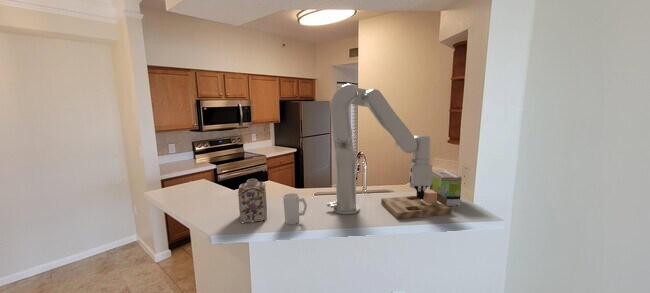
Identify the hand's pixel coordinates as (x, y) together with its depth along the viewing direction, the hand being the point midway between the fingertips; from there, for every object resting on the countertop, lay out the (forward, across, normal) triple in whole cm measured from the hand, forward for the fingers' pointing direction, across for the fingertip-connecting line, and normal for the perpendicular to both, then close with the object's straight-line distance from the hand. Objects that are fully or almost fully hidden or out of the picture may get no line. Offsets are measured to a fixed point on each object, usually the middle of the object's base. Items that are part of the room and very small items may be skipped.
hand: (420, 198), depth 125 cm
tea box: (+5, +17, +6) cm, 19 cm away
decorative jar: (+5, -79, +8) cm, 80 cm away
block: (+2, +5, 0) cm, 5 cm away
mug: (+5, -60, -2) cm, 60 cm away
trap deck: (+5, -3, 0) cm, 6 cm away
